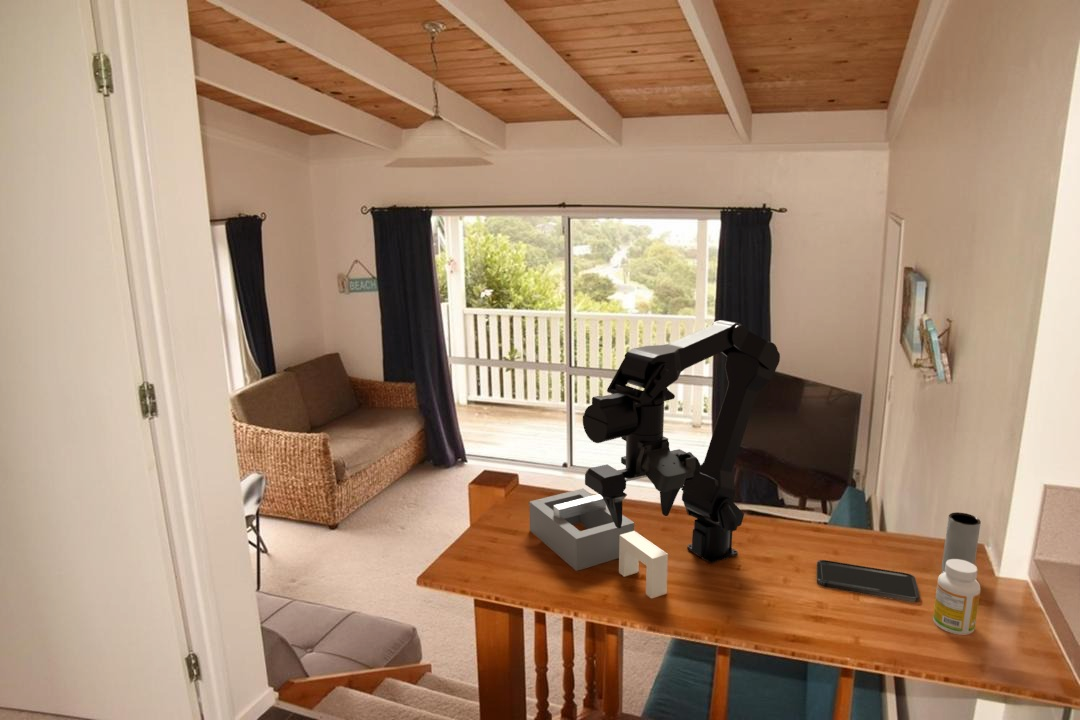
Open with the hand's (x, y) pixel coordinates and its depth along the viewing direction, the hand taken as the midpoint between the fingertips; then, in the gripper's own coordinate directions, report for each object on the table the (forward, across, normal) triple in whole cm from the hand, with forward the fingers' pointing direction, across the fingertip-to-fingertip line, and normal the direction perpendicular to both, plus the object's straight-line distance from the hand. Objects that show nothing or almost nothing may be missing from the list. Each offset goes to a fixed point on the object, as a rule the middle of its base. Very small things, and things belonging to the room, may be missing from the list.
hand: (642, 521), depth 113 cm
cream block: (+11, 0, 0) cm, 11 cm away
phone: (+11, +33, -18) cm, 39 cm away
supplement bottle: (+11, +34, -32) cm, 48 cm away
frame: (+11, -2, +17) cm, 20 cm away
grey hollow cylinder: (+11, +48, -23) cm, 54 cm away
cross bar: (+5, -2, +17) cm, 18 cm away
